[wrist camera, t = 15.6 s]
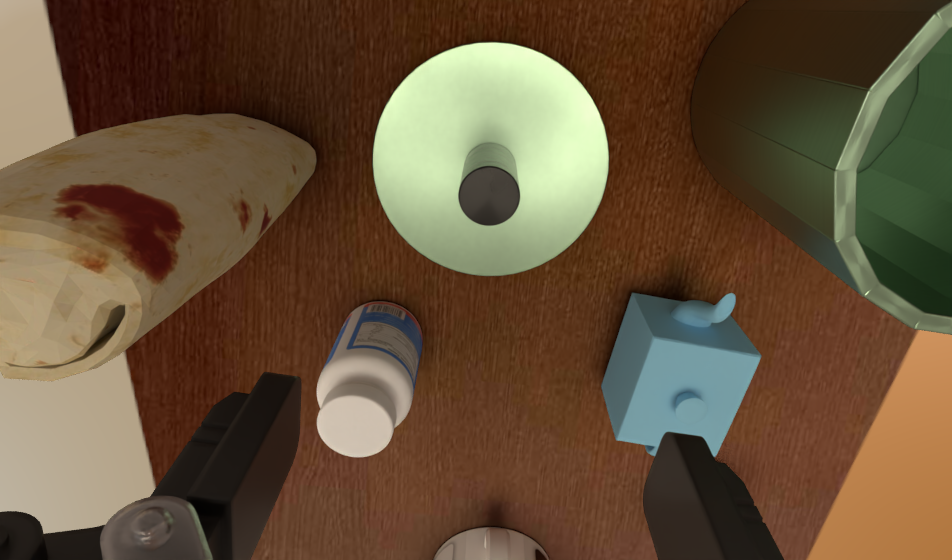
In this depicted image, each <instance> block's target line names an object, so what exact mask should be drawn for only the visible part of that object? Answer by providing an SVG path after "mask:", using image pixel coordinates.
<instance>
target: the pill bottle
mask: <svg viewBox="0 0 952 560" xmlns="http://www.w3.org/2000/svg"><path fill="white" fill-rule="evenodd" d="M422 343H423V337H422V331H421V328H420V325H419V323H418V321H417V320H416V319H415V317H414V316H413V315H412V314H411V313H410V312H409V311H408V310H406V309H405V308H403V307H401V306H399V305H397V304H394V303H390V302H384V301H375V302H370V303H366V304H363V305H361V306H359V307H358V308H356V309H355V310H354V311H352V312H351V313H350V315H349V316H348V317H347V319H346V320H345V322H344V324H343V326H342V328H341V331H340V333H339V335H338V337H337V340H336V342H335V344H334V346H333V348H332V351H331V353H330V355H329V357H328V359H327V362H326V364H325V366H324V368H323V370H322V373H321V375H320V378H319V381H318V385H317V399H318V403H319V406H320V408H321V409H320V411H319V414H318V418H317V428H318V432H319V434H320V436H321V438H322V440H323V441H324V442H325V443H326V444H327V445H328V446H329V447H330V448H331V449H333V450H335V451H336V452H338V453H340V454H343V455H346V456H351V457H366V456H370V455H373V454H376V453H378V452H380V451H381V450H383V449H384V448H385V447H386V446H387V445H388V443H389V442H390V440H391V437H392V435H393V431H394V428H395V427H396V426H398V425H399V424H400V423H401V422H402V421H403V420H404V418H405V417H406V415H407V414H408V412H409V409H410V407H411V403H412V399H413V394H414V388H415V383H416V377H417V372H418V366H419V361H420V356H421V351H422Z"/></svg>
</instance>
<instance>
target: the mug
mask: <svg viewBox="0 0 952 560" xmlns="http://www.w3.org/2000/svg"><path fill="white" fill-rule="evenodd" d="M434 560H549V558H548V556H547V554H546V553H545V551H544V550H543V548H542V547H541V546H540V545H539V544H538V543H536V542H535V541H534V540H532V539H531V538H529V537H528V536H526V535H524V534H522V533H519V532H516V531H513V530H509V529H505V528H497V527H484V528H476V529H472V530H467V531H465V532H462V533H459V534H457V535H456V536H454V537H452V538H450V539H449V540H448V541H446V542H445V543H444V544H443V545H442V546H441V547H440V549H439V550H438V552H437V553H436V555H435V557H434Z"/></svg>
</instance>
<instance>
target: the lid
mask: <svg viewBox="0 0 952 560" xmlns="http://www.w3.org/2000/svg"><path fill="white" fill-rule="evenodd" d="M372 166H373V175H374V182H375V186H376V190H377V194H378V196H379V199H380V202H381V204H382V207H383V209H384V211H385V213H386V214H387V216H388V218H389V220H390V222H391V223H392V224H393V226H394V227H395V229H396V230H397V231H398V233H399V234H400V235H401V236H402V237H403V238H404V239H405V240H406V241H407V242H408V244H410V245H411V246H412V247H413V248H414V249H416V250H417V251H418V252H419V253H421V254H422V255H424V256H425V257H427V258H428V259H430V260H431V261H433V262H435V263H437V264H439V265H442V266H444V267H446V268H449V269H452V270H455V271H458V272H462V273H466V274H471V275H480V276H502V275H509V274H515V273H519V272H523V271H526V270H529V269H532V268H534V267H537V266H539V265H542V264H544V263H545V262H547V261H549V260H551V259H553V258H554V257H556V256H557V255H559V254H560V253H561V252H563V251H564V250H566V249H567V248H568V247H569V246H570V245H571V244H572V243H573V242H574V241H575V240H576V239H577V238H578V237H579V236H580V235H581V234H582V232H583V231H584V230H585V229H586V228H587V226H588V224H589V223H590V221H591V220H592V218H593V217H594V215H595V213H596V211H597V209H598V207H599V205H600V203H601V200H602V197H603V194H604V191H605V188H606V183H607V177H608V171H609V148H608V139H607V134H606V130H605V126H604V123H603V120H602V117H601V115H600V112H599V110H598V108H597V106H596V104H595V102H594V100H593V99H592V97H591V95H590V94H589V93H588V91H587V90H586V88H585V87H584V86H583V84H582V83H581V82H580V81H579V80H578V79H577V78H576V77H575V76H574V75H573V74H572V73H571V72H570V71H569V70H568V69H566V68H565V67H564V66H563V65H561V64H560V63H559V62H557V61H556V60H554V59H552V58H551V57H549V56H547V55H546V54H544V53H542V52H539V51H537V50H534V49H532V48H529V47H527V46H522V45H518V44H514V43H509V42H499V41H484V42H474V43H469V44H463V45H459V46H456V47H453V48H450V49H447V50H445V51H443V52H441V53H439V54H437V55H435V56H433V57H431V58H429V59H428V60H427V61H425V62H424V63H422V64H421V65H419V66H418V67H417V68H415V69H414V70H413V71H412V72H411V73H410V74H409V75H408V76H407V77H406V78H405V79H404V80H403V81H402V82H401V83H400V85H399V86H398V87H397V88H396V89H395V91H394V92H393V94H392V95H391V97H390V99H389V100H388V102H387V103H386V105H385V107H384V110H383V112H382V114H381V116H380V119H379V122H378V125H377V129H376V132H375V137H374V144H373V157H372Z"/></svg>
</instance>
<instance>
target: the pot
mask: <svg viewBox="0 0 952 560" xmlns="http://www.w3.org/2000/svg"><path fill="white" fill-rule="evenodd" d="M691 126H692V132H693V138H694V141H695V145H696V148H697V150H698V152H699V154H700V157H701V159H702V161H703V162H704V164H705V165H706V167H707V168H708V170H709V171H710V173H711V174H712V175H713V177H714V179H715V180H716V181H717V182H718V183H719V184H720V185H722V186H723V187H724V188H725V189H727V190H728V191H729V192H730V193H732V194H733V195H734V196H736V197H737V198H738V199H739V200H741V201H742V202H743V203H744V204H746V205H747V206H748V207H750V208H751V209H752V210H753V211H755V212H756V213H757V214H758V215H760V216H761V217H762V218H764V219H765V220H766V221H767V222H769V223H770V224H771V225H772V226H774V227H775V228H776V229H778V230H779V231H780V232H781V233H783V234H784V235H785V236H786V237H788V238H789V239H790V240H792V241H793V242H794V243H795V244H797V245H798V246H799V247H800V248H802V249H803V250H804V251H806V252H807V253H808V254H809V255H811V256H812V257H813V258H814V259H816V260H817V261H818V262H820V263H821V264H822V265H823V266H825V267H826V268H827V269H828V270H830V271H831V272H832V273H833V274H835V275H836V276H837V277H839V278H840V279H841V280H842V281H844V282H845V283H846V284H847V285H849V286H850V287H851V288H853V289H854V290H855V291H856V292H858V293H859V294H860V295H861V296H863V297H864V298H866V299H867V300H869V301H870V302H872V303H873V304H875V305H876V306H878V307H879V308H881V309H882V310H884V311H885V312H887V313H889V314H890V315H892V316H893V317H895V318H896V319H898V320H899V321H901V322H902V323H904V324H905V325H907V326H908V327H910V328H913V329H918V330H924V331H931V332H937V333H943V334H950V335H952V0H749V1H748V2H747V3H746V4H744V5H743V6H742V7H741V8H740V9H739V10H738V11H737V12H736V13H735V14H734V15H733V16H732V17H731V18H730V19H729V20H728V21H727V22H726V24H725V25H724V26H723V27H722V29H721V30H720V31H719V32H718V34H717V35H716V37H715V38H714V40H713V42H712V43H711V45H710V46H709V48H708V50H707V52H706V54H705V56H704V58H703V60H702V62H701V65H700V68H699V70H698V73H697V76H696V79H695V83H694V88H693V92H692V100H691Z"/></svg>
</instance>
